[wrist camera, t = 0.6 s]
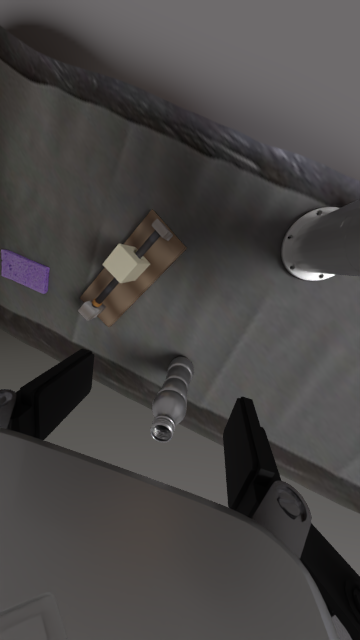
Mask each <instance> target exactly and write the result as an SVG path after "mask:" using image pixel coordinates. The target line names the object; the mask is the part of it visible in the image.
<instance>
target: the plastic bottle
mask: <svg viewBox="0 0 360 640" xmlns="http://www.w3.org/2000/svg"><path fill="white" fill-rule="evenodd" d="M193 374H194V367H193V364H192V362H191V361H190V360H189V359H188V358H185V357H177V358H175V359H173V360H172V362H171V363H170V364H169V366H168V371H167V376H166V380H165V382H164V384H163V386H162V388H161V390H160V391H159V393H158V394H157V395H156V397H155V399H154V401H153V405H152V412H153V416H154V420H153V423H152V427H151V430H150V432H151V435H152V437H153V438H154V439H155V440H156V441H159V442H168V441H170V440H171V439H172V436H173V432H174V430H175V426H176V425H177V424H178V423H180V422H181V421H182V419H183V418H184V416H185V414H186V409H187V391H188V386H189V383H190V381H191V379H192V377H193Z"/></svg>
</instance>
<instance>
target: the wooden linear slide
mask: <svg viewBox="0 0 360 640" xmlns="http://www.w3.org/2000/svg"><path fill="white" fill-rule="evenodd" d="M124 245H128V246H132V247H136V248H137V252H136V253H135V254H136V255H137V256H138V258H139V259H141V258H142V256H144V257H145V258H146V260H147V261H148V262H149V263H150V265H149V266H148V267H147V268H146V270H145V271H144V272H143V273H142V274H141V275H140V276H139V277H138V278H137V279H136V280H135V281H130V282H125V283H119V282H118V281H117V279H116V278H115V277H114V276H113V275H112V274H111V273H110V272H109V271H108V270H107V269H106V268H104V269H103V270H102V271H101V273H100V274H99V275H98V276H97V278H96V279H95V280H94V281H93V282H92V284H91V285H90V286H89V287H88V289H87V290H86V291H85V292H84V294H83V295H82V296H81V297H80V299H81V300H82V301H83V302H84V304H83V305H82V306H81V308H80V309H79V310H78V312H79V313H80V314H81V315H82V316H83V317H84V318H85V319H86V320H87V321H88V320H90V319H93V318H95V317H96V316H98V317H99V318H100V319H101V320H102V321H103V322H104V323H105V324H106V325H107V326H108V327H110V326H112V325H113V324H114V323H115V322H116V321H117V320H118V319H119V318H120V317H121V316H122V314H123V313H124V312H125V311H126V310H127V309H128V308H129V307H130V306H131V305H132V304H133V303H134V302H135V301H136V300H137V299H138V298H139V297H140V296H141V295H142V294H143V293H144V292H145V291H146V290H147V289H148V288H149V287H150V286H151V285H152V284H153V283H154V282H155V281H156V280H157V279H158V278H159V277H160V276H161V274H162V273H163V272H164V271H165V270H166V269H167V268H168V267H169V266H170V265H171V264H172V263H173V262H174V261H175V260H176V259H177V258H178V257H179V256H180V255H181V254H182V253H183V252H184V251H185V250H186V249H187V248H186V247H185V246H184V244H183V243H182V242H181V241H180V240H179V239H178V238H177V236H176V235H175V234H174V233H173V232H172V231H171V229H170V228H169V227H168V226H167V225H166V224H165V223H164V221H163V220H162V219H161V218H160V217H159V216H158V215H157V213H156V212H155V211H154V210H153V209H152V210H151V211H150V212H149V214H148V215H147V216H146V217H145V218H144V220H143V221H142V222H141V223H140V225H139V226H138V227H137V228H136V230H135V231H134V232H133V233H132V234H131V236H130V237H129V238H128V239H127V241H126V242H125V243H124Z"/></svg>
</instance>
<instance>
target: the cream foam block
mask: <svg viewBox="0 0 360 640" xmlns="http://www.w3.org/2000/svg"><path fill="white" fill-rule="evenodd" d="M136 252H137V248H136V247H132V246H128V245H124V244H118V245H117V247H116V248H115V249H114V250H113V252H112V253H111V254H110V255H109V257H108V258H107V259H106V260H105V262H104V263H103V264H102V265H103V266H104V267H105V268H106V269H107V270H108V271H109V272H110V273H111V274H112V275H113V276H114V277H115V278H116V279H117V281H118V282H119V283H125V282H130V281H135V280H136V279H137V278H138V277H139V276H140V275H141V274H142V273H143V272H144V271H145V270H146V268H147V267H148V266H149V265H150V263H149V262H148V261H147V260H146V258H145V257H144V256H142V258H141V259H139V258H138V256H137V255H136V254H135V253H136Z"/></svg>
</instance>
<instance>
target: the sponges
mask: <svg viewBox="0 0 360 640" xmlns="http://www.w3.org/2000/svg"><path fill="white" fill-rule="evenodd" d="M1 259H2V260H3V261H2V276H3V277H6V278H8V279H11V280H14V281H15V282H18V283H20V284H22V285H24V286H27V287H29V288H31V289H33V290H36V291H38V292H40V293H43V294H45V293H46V292H47V291H48V280H49V279H48V277H49V269H50V268H49V267H46V266H44V265H42V264H39V263H37V262H35V261H32V260H30V259H28V258H25V257H23V256H20V255H19V254H16V253H14V252H12V251H9V250H2V249H1Z"/></svg>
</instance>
